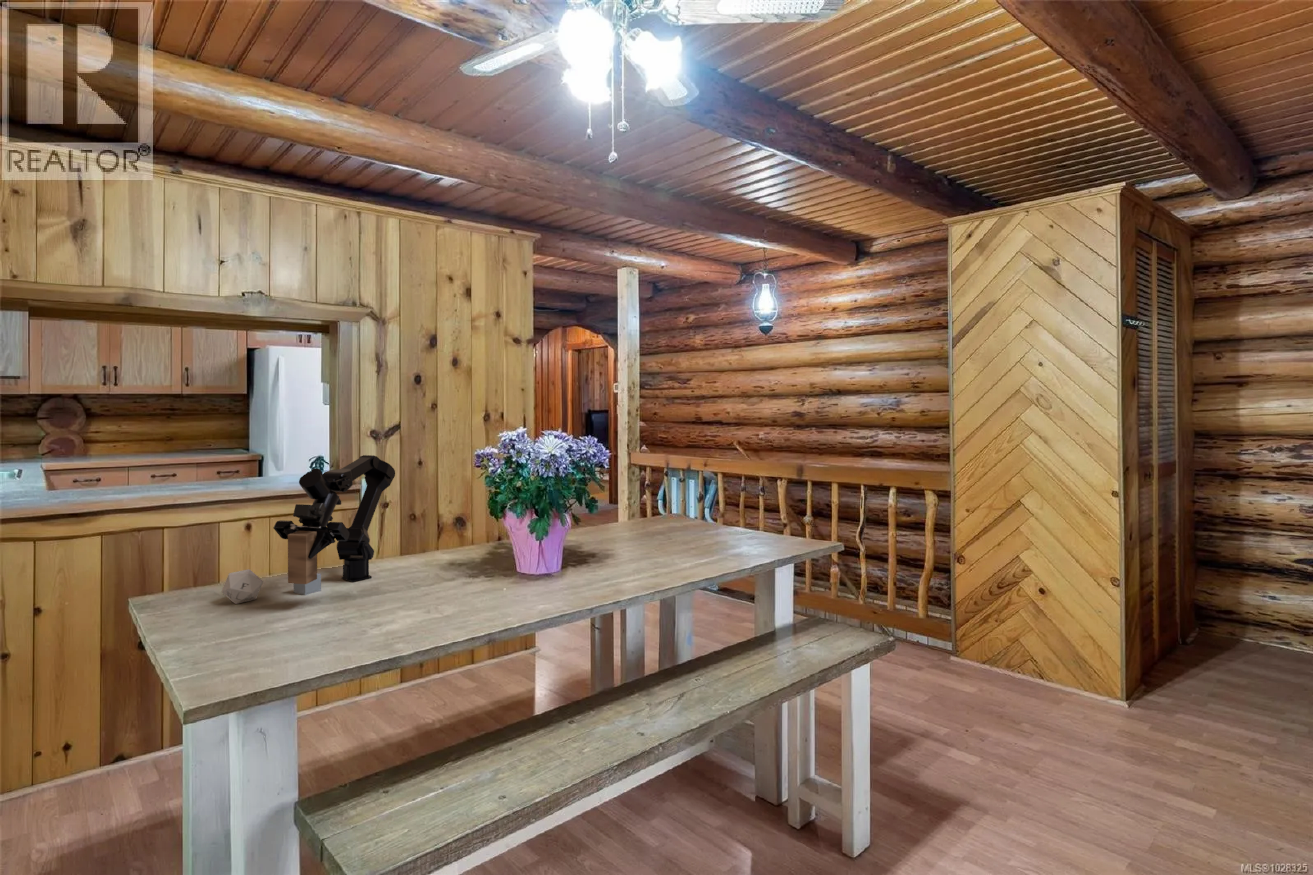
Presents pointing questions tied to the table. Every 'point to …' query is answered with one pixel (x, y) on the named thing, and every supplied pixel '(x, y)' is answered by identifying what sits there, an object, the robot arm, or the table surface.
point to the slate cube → (309, 586)
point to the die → (242, 586)
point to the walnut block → (301, 557)
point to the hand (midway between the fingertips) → (299, 557)
